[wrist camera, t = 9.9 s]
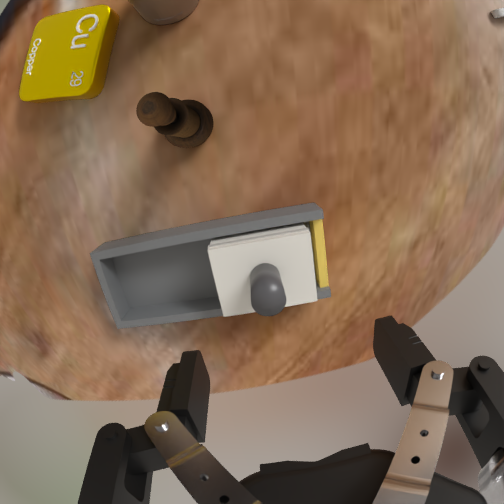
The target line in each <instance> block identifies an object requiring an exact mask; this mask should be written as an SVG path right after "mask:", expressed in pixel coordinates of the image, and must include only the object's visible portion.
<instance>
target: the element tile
mask: <svg viewBox="0 0 504 504" xmlns="http://www.w3.org/2000/svg"><path fill="white" fill-rule="evenodd" d="M118 25H119V16H118V15H117V14H116V13H115V12H114V11H113V10H112V9H111V8H110V7H109V6H107V5H96V6H91V7H85V8H80V9H76V10H71V11H67V12H62V13H58V14H55V15H51V16H47V17H45V18H43V19H42V20H40V21H39V22H38V24H37V25H36V27H35V29H34V32H33V35H32V38H31V42H30V45H29V49H28V53H27V56H26V60H25V65H24V69H23V73H22V78H21V83H20V88H19V97H20V99H21V100H22V101H26V102H34V103H44V102H53V101H64V100H78V99H92V98H94V97H96V96H98V95H99V94H100V93H101V91H102V89H103V87H104V83H105V78H106V73H107V69H108V64H109V60H110V55H111V51H112V47H113V43H114V39H115V35H116V32H117V28H118Z"/></svg>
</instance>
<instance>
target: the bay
mask: <svg viewBox="0 0 504 504" xmlns="http://www.w3.org/2000/svg"><path fill="white" fill-rule="evenodd" d="M322 219H324V217H323V209H321V208H320V207H319V206H318V205H316V204H315V203H308V204H302V205H296V206H290V207H284V208H278V209H272V210H266V211H260V212H255V213H249V214H243V215H238V216H232V217H227V218H221V219H216V220H211V221H206V222H200V223H195V224H190V225H185V226H180V227H175V228H170V229H165V230H160V231H156V232H151V233H146V234H141V235H137V236H132V237H128V238H123V239H119V240H114V241H110V242H105V243H103V244H102V245H100V246H99V247H98V248H96V249H95V250H94V251H92V252H91V253H90V255H91V258H92V261H93V264H94V267H95V270H96V273H97V276H98V279H99V282H100V285H101V287H102V290H103V293H104V295H105V298H106V301H107V303H108V306H109V308H110V311H111V313H112V316H113V318H114V321H115V323H116V326H117V328H118V329H119V328H129V327H139V326H148V325H157V324H165V323H174V322H181V321H189V320H197V319H204V318H211V317H218V316H223V312H222V308H221V304H220V300H219V296H218V292H217V288H216V284H215V280H214V276H213V272H212V268H211V263H210V259H209V255H208V245H210V242H211V240H212V238H215V237H220V236H226V235H232V234H237V233H243V232H248V231H254V230H260V229H265V228H271V227H277V226H283V225H289V224H295V223H301V222H302V223H303V224H304V225H305V227H306V228H308V229H309V232H310V235H311V243H312V252H313V261H314V270H315V280H316V290H317V300H318V299H323V298H328V297H331V291H330V288H329V285H328V273H327V261H326V251H325V241H324V231H323V223H322Z"/></svg>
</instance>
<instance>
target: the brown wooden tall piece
mask: <svg viewBox="0 0 504 504" xmlns="http://www.w3.org/2000/svg"><path fill="white" fill-rule="evenodd" d="M137 116H138V118H139V120H140V121H141V122H142V123H143V124H145V125H147V126H152V127H155V129H156V130H157V131H158V132H159V133H161V134H163V135H164V136H165V137H166V139H167V140H168V141H169V142H170V143H172V144H173V145H175V146H178V147H186V148H189V147H195V146H198V145H200V144H202V143H203V142H204V141H205V140H206V139H207V138H208V137H209V136H210V134H211V132H212V129H213V117H212V115H211V113H210V111H209V110H208V109H207V108H206V107H205V106H204V105H203V104H202V103H200V102H198V101H195V100H182V101H181V100H179V99H176V98H168V97H167V96H166V95H164V94H162V93H159V92H152V93H149V94H147V95H145V96H144V97H142V98H141V100H140V101H139V103H138V105H137Z"/></svg>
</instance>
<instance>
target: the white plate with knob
mask: <svg viewBox="0 0 504 504" xmlns="http://www.w3.org/2000/svg"><path fill="white" fill-rule="evenodd" d="M208 255H209V259H210V263H211V268H212V272H213V276H214V280H215V284H216V288H217V292H218V296H219V300H220V304H221V308H222V312H223V316H224V317H227V316H233V315H240V314H246V313H252V312H257V313H258V314H260V315H263V316H273V315H276V314H278V313H279V312H281V311H282V310H283V308H284V307H288V306H293V305H298V304H304V303H309V302H314V301H317V290H316V280H315V270H314V261H313V252H312V243H311V235H310V232H309V229H308V228H306V227H305V225H304V224H303V223H302V222H301V223H295V224H289V225H283V226H277V227H271V228H265V229H260V230H254V231H248V232H243V233H237V234H232V235H226V236H220V237H215V238H212V240H211V242H210V245H208Z"/></svg>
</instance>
